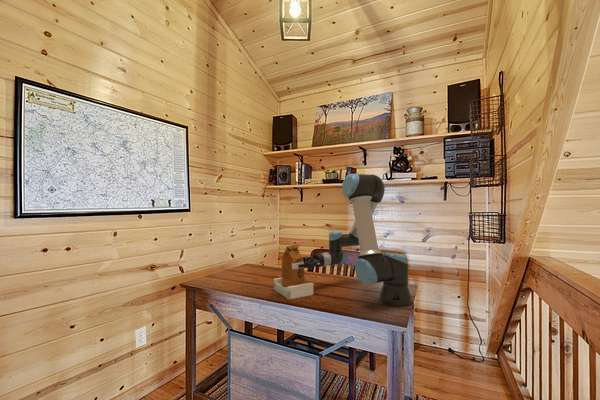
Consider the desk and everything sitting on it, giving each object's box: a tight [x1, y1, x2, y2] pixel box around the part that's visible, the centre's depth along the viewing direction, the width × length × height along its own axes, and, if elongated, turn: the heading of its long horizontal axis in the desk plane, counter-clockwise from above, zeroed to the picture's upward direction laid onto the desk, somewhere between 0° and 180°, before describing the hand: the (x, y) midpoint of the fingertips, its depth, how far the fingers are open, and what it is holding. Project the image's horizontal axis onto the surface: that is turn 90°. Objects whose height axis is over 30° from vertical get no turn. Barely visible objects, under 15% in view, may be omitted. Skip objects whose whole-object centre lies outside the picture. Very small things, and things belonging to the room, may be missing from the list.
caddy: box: [273, 277, 314, 301], centre depth 151 cm, size 18×15×6 cm
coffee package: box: [280, 243, 306, 287], centre depth 152 cm, size 10×12×22 cm
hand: (287, 264), depth 150 cm, fingers closed on coffee package, 11 cm apart
